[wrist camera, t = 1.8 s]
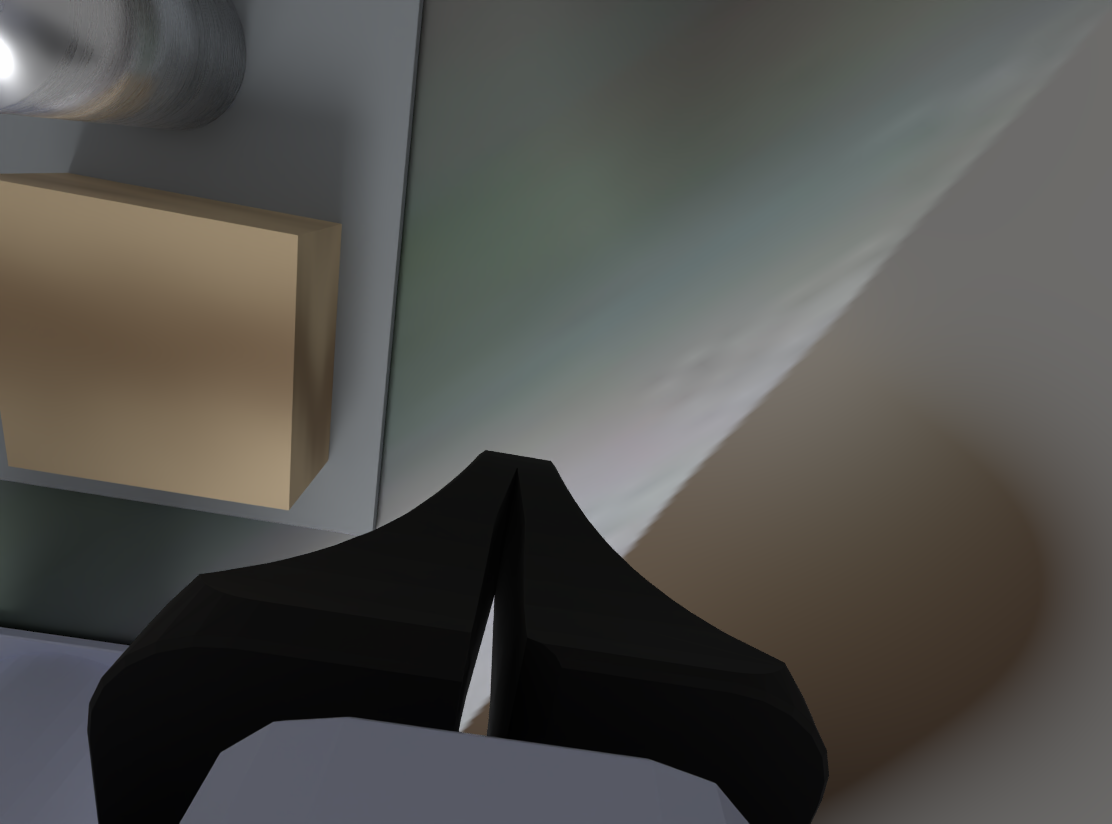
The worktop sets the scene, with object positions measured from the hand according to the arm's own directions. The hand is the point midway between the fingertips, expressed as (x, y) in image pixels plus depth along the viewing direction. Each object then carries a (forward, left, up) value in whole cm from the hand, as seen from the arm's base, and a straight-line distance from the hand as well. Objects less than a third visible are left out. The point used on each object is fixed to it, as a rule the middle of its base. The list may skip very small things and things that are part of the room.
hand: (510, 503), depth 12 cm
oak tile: (0, +9, -7) cm, 11 cm away
